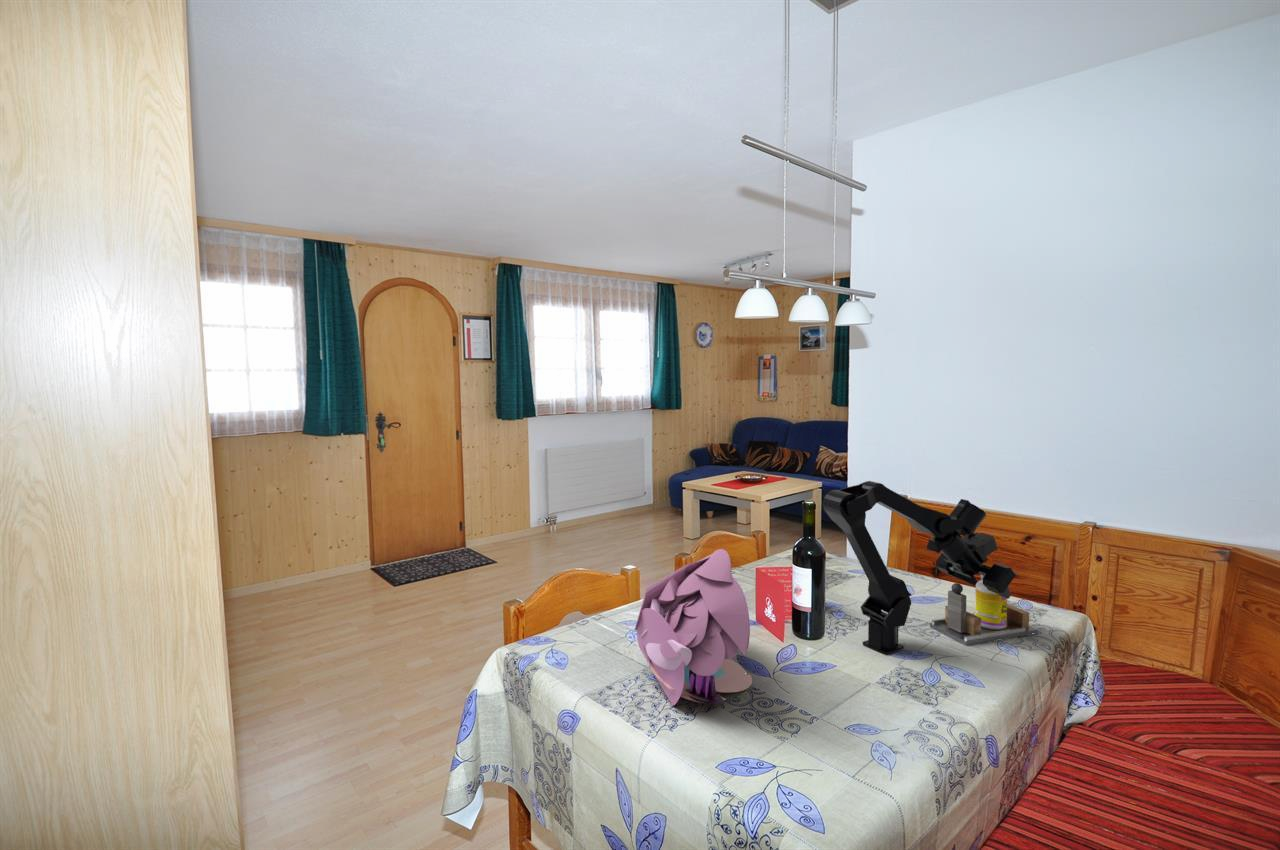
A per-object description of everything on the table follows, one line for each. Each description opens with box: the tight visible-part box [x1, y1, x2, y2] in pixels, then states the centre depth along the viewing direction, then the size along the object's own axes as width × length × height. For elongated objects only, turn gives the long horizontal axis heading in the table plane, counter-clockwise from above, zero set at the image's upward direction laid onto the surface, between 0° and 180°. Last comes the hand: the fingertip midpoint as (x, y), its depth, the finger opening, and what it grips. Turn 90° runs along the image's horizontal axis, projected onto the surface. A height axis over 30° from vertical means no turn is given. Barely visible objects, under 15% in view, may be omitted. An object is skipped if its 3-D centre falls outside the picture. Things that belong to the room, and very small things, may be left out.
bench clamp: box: [929, 603, 1038, 646], centre depth 142 cm, size 21×11×5 cm, turn 106°
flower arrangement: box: [634, 548, 753, 706], centre depth 121 cm, size 35×24×28 cm
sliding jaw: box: [944, 582, 981, 635], centre depth 140 cm, size 4×9×11 cm, turn 16°
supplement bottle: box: [974, 574, 1008, 630], centre depth 142 cm, size 7×7×13 cm
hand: (992, 590), depth 142 cm, fingers open, 9 cm apart
